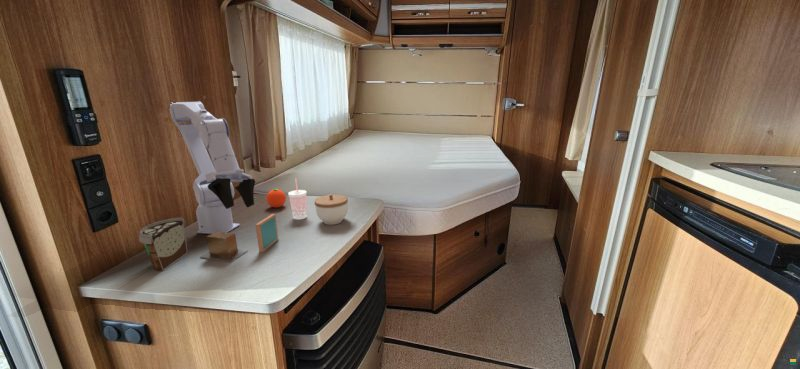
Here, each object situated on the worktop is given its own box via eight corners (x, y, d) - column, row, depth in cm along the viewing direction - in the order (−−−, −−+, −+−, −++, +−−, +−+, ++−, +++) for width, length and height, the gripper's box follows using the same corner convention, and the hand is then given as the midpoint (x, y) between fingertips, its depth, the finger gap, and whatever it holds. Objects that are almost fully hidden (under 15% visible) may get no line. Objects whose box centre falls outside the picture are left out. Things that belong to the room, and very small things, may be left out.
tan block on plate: (200, 258, 87) (196, 237, 86) (217, 248, 93) (214, 228, 91) (231, 262, 85) (228, 241, 83) (247, 252, 90) (244, 231, 89)
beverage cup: (311, 217, 114) (307, 178, 110) (293, 221, 111) (289, 181, 107) (305, 212, 119) (301, 175, 115) (288, 216, 116) (284, 177, 112)
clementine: (271, 203, 130) (268, 186, 128) (289, 202, 130) (287, 185, 128) (265, 210, 122) (262, 192, 120) (284, 209, 123) (282, 191, 121)
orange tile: (259, 251, 90) (255, 224, 88) (275, 239, 98) (272, 213, 95) (262, 252, 90) (258, 224, 88) (278, 239, 97) (275, 214, 95)
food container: (169, 250, 92) (161, 217, 89) (191, 250, 92) (184, 216, 89) (133, 274, 80) (123, 236, 77) (158, 274, 80) (149, 236, 77)
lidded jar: (347, 226, 106) (345, 199, 103) (313, 228, 105) (310, 200, 103) (350, 214, 116) (348, 189, 113) (319, 216, 115) (317, 190, 113)
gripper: (214, 150, 82) (232, 201, 80) (254, 156, 96) (269, 199, 94) (193, 162, 83) (210, 212, 82) (235, 166, 97) (250, 209, 96)
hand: (240, 206), depth 88 cm, fingers open, 7 cm apart
